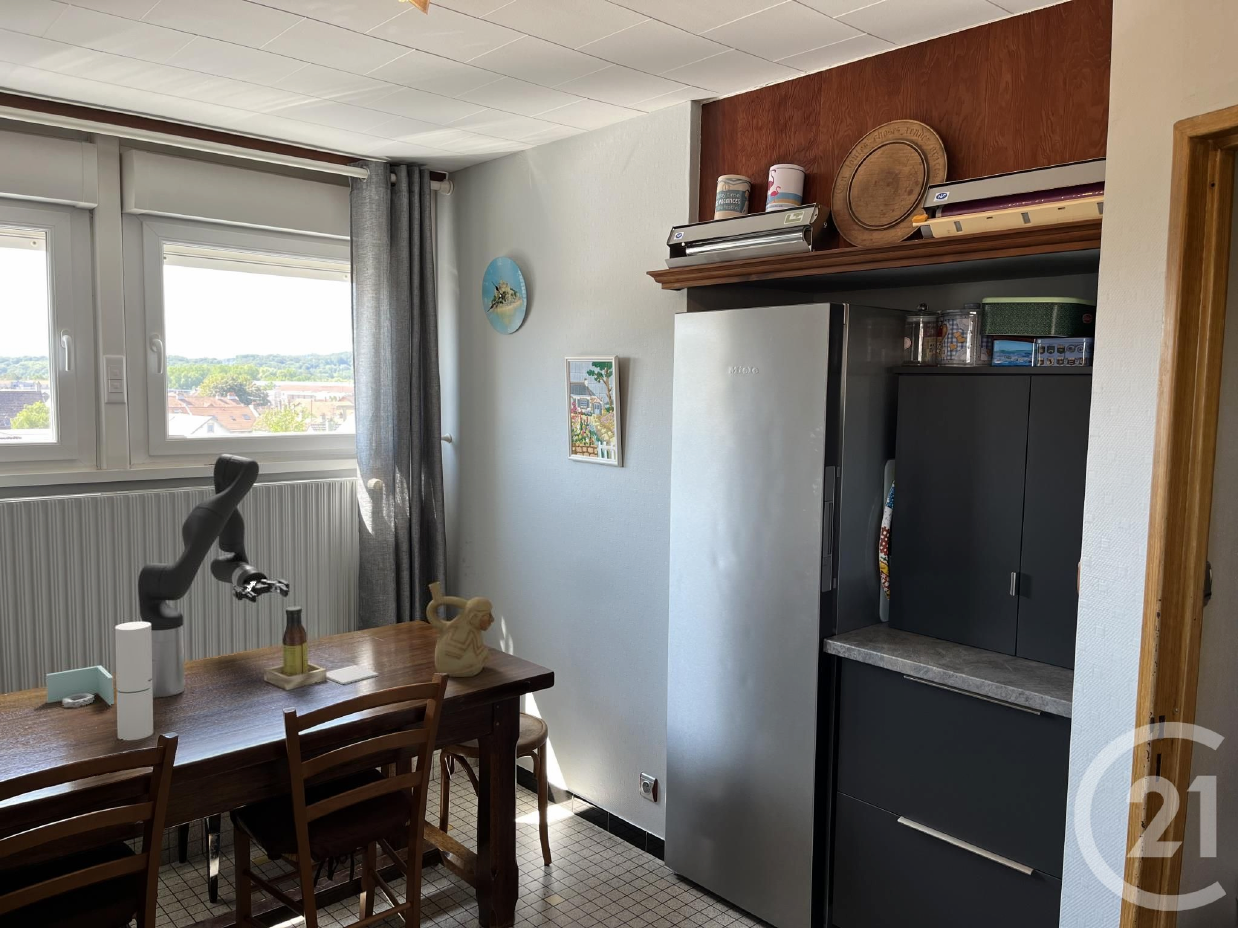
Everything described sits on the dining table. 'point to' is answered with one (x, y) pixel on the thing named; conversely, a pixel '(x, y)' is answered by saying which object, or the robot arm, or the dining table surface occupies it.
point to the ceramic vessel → (460, 634)
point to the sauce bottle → (294, 644)
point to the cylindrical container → (134, 680)
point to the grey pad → (350, 674)
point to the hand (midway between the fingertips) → (270, 596)
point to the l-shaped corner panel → (80, 686)
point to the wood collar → (279, 679)
